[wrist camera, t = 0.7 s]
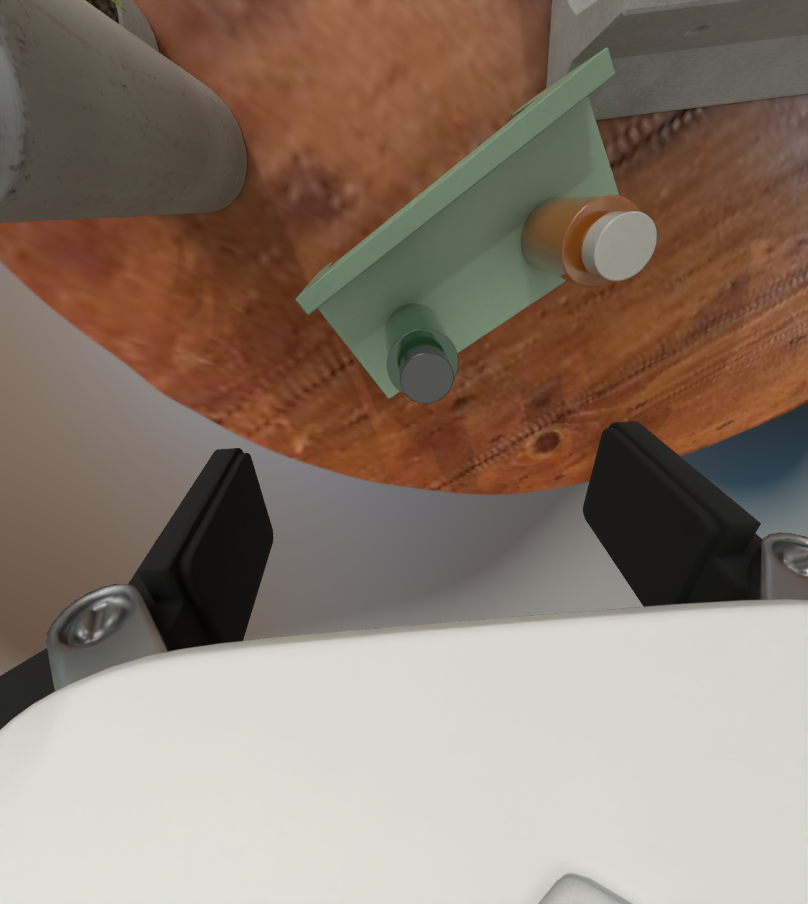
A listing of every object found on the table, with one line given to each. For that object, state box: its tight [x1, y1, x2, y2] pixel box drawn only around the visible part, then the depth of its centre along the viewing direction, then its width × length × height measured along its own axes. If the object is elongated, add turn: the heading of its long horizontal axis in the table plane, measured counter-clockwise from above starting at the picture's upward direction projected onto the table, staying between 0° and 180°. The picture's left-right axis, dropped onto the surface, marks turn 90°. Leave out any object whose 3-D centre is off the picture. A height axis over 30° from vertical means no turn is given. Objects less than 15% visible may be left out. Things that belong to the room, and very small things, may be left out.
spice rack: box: [296, 48, 619, 399], centre depth 29 cm, size 20×10×11 cm, turn 125°
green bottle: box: [385, 303, 459, 404], centre depth 25 cm, size 4×4×9 cm
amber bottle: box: [521, 195, 657, 288], centre depth 22 cm, size 4×4×9 cm
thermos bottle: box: [0, 0, 247, 223], centre depth 17 cm, size 8×8×28 cm
